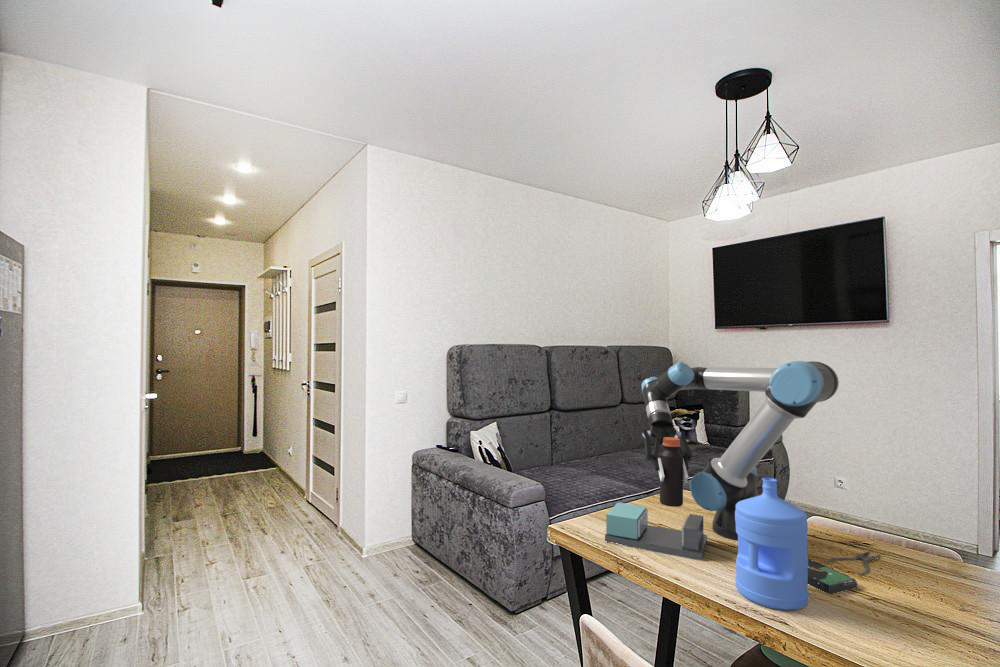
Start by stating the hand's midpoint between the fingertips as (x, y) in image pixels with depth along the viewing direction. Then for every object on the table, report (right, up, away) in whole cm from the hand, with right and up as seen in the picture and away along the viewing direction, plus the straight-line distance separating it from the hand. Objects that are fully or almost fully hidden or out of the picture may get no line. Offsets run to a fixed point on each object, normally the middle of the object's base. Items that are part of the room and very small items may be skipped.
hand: (674, 479), depth 148 cm
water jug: (+14, -20, -28) cm, 37 cm away
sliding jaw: (-12, -19, +9) cm, 24 cm away
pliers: (+48, -21, -8) cm, 53 cm away
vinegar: (0, -9, +3) cm, 9 cm away
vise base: (-4, -21, +5) cm, 22 cm away
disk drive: (+30, -21, -19) cm, 42 cm away
